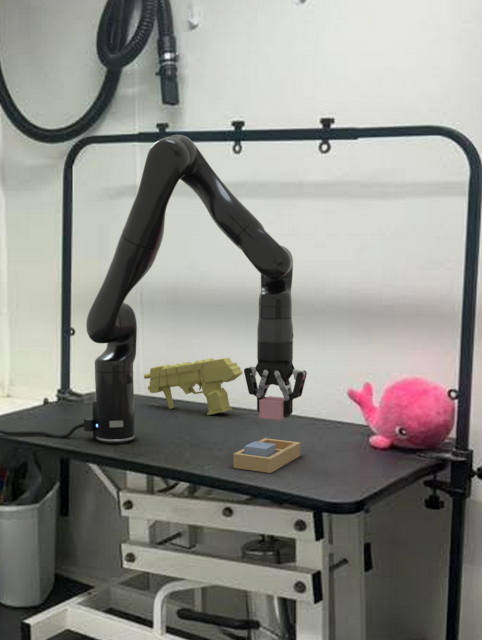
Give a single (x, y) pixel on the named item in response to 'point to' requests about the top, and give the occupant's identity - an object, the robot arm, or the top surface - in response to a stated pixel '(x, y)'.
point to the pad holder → (282, 456)
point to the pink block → (271, 408)
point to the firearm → (196, 380)
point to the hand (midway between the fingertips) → (274, 415)
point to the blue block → (260, 449)
